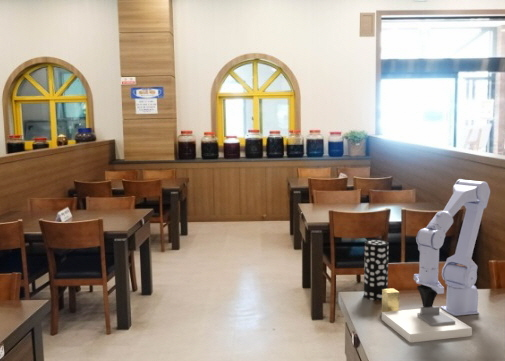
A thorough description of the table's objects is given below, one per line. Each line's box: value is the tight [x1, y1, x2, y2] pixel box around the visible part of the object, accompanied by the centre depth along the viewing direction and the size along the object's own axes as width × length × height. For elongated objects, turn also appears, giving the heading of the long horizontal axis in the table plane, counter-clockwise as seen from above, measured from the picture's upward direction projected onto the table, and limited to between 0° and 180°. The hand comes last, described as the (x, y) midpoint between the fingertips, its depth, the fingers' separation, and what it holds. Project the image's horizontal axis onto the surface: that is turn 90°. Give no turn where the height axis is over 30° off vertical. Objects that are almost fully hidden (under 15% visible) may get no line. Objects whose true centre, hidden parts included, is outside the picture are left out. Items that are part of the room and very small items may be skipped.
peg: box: [381, 287, 400, 313], centre depth 176 cm, size 4×4×8 cm
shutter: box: [417, 305, 455, 326], centre depth 164 cm, size 8×8×3 cm
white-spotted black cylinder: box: [363, 239, 390, 301], centre depth 193 cm, size 8×8×20 cm
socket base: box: [381, 308, 473, 343], centre depth 165 cm, size 20×18×2 cm
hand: (427, 308), depth 169 cm, fingers closed
